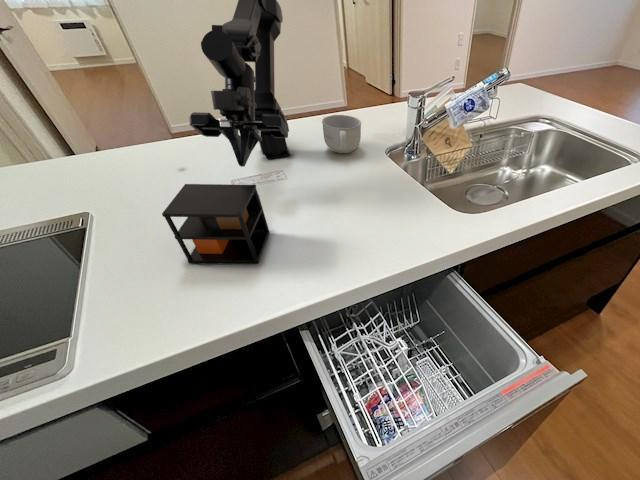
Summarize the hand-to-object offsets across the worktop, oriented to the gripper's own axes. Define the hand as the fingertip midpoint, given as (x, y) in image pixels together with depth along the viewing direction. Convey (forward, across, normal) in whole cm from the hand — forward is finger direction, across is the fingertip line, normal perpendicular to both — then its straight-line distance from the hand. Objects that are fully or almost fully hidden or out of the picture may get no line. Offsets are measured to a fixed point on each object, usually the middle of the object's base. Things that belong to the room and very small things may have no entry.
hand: (241, 165), depth 74 cm
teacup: (-13, +19, +26) cm, 35 cm away
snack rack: (+18, 0, -6) cm, 19 cm away
